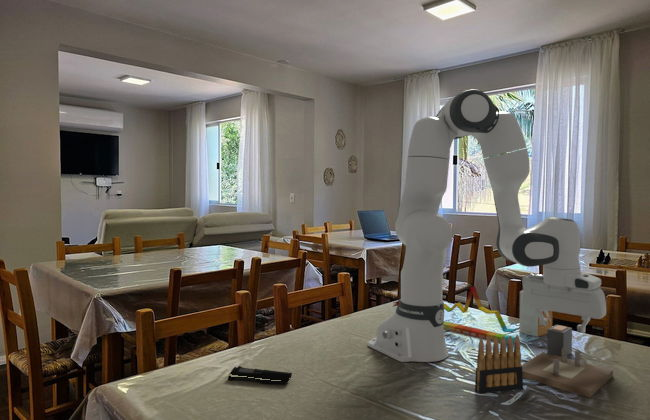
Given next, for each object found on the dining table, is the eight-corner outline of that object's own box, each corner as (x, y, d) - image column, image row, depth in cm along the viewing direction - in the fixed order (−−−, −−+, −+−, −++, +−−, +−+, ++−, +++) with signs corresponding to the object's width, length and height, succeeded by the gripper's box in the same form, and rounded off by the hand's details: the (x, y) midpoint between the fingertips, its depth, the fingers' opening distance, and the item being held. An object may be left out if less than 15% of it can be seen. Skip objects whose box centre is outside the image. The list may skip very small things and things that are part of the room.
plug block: (547, 355, 118) (547, 328, 118) (556, 349, 122) (556, 323, 122) (563, 359, 115) (563, 331, 115) (571, 353, 119) (572, 326, 119)
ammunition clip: (518, 385, 100) (518, 333, 99) (523, 389, 98) (523, 335, 98) (474, 390, 98) (475, 336, 97) (479, 393, 96) (479, 339, 96)
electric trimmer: (288, 389, 100) (288, 376, 100) (226, 381, 104) (226, 368, 104) (294, 382, 104) (294, 369, 103) (234, 375, 108) (233, 362, 107)
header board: (515, 375, 105) (515, 354, 105) (542, 357, 116) (542, 339, 116) (589, 397, 94) (590, 374, 93) (612, 376, 104) (613, 355, 104)
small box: (538, 337, 132) (538, 294, 132) (518, 332, 137) (519, 290, 137) (553, 332, 137) (553, 291, 136) (533, 327, 142) (534, 287, 141)
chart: (419, 324, 147) (419, 279, 147) (425, 322, 150) (425, 278, 149) (511, 346, 126) (511, 294, 125) (515, 343, 128) (516, 292, 127)
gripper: (517, 274, 123) (518, 323, 124) (600, 284, 108) (600, 339, 109) (527, 271, 128) (527, 318, 128) (608, 280, 113) (608, 333, 113)
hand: (561, 328), depth 118 cm, fingers open, 8 cm apart
